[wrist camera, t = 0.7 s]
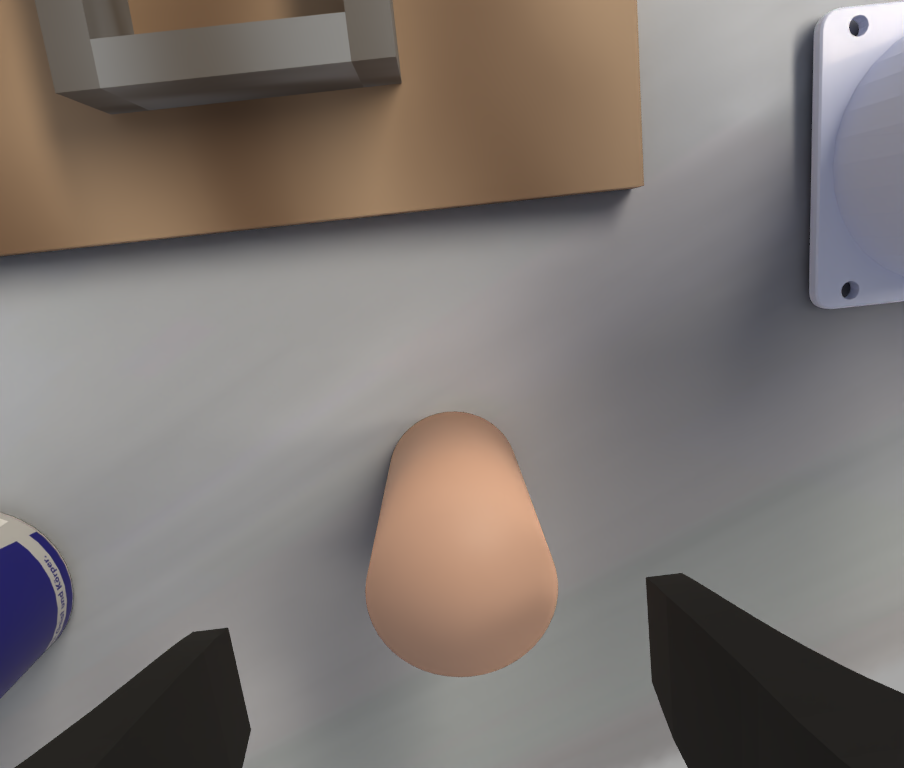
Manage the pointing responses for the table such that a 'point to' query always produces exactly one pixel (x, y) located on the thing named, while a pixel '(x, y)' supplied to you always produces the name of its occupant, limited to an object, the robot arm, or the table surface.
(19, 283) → the table surface
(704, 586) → the robot arm
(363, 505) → the table surface
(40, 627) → the energy drink
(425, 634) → the peg
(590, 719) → the table surface
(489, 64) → the socket base
